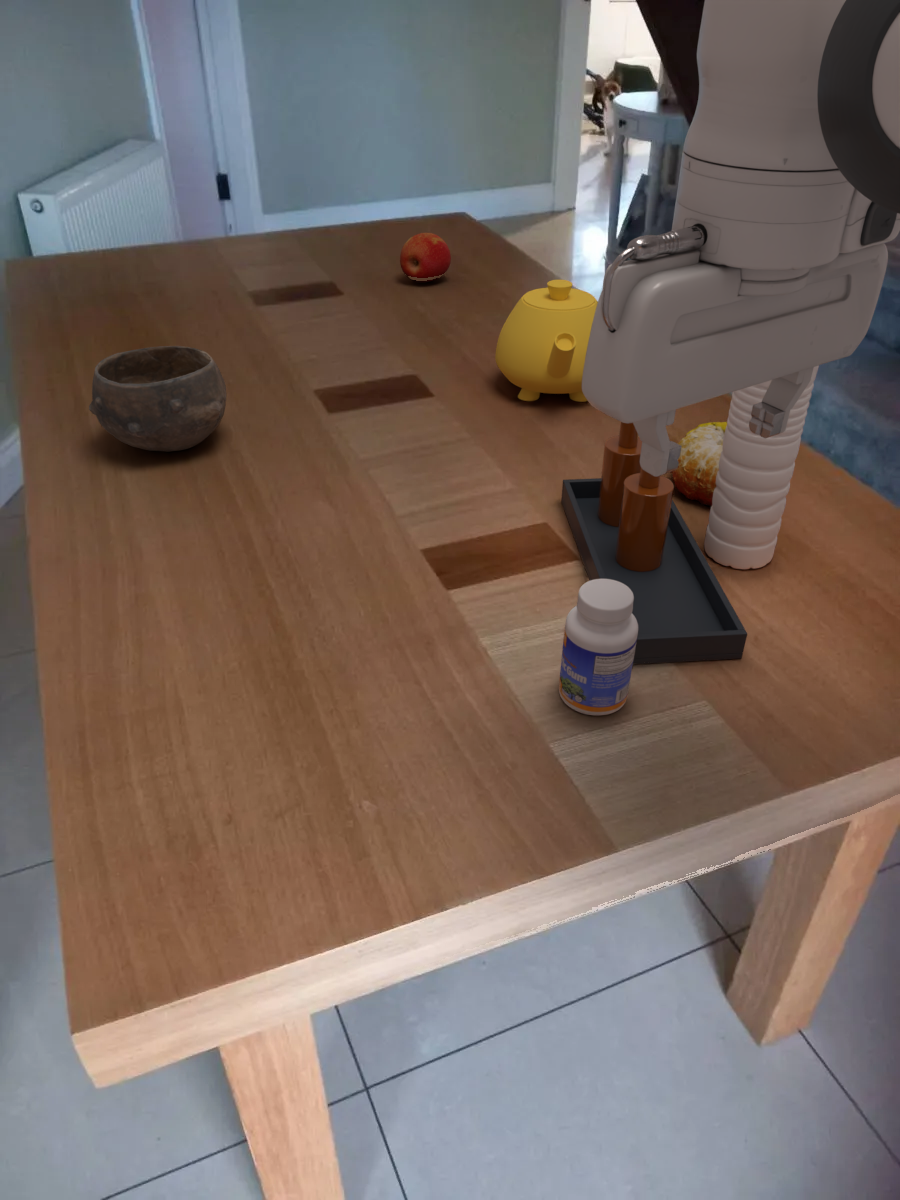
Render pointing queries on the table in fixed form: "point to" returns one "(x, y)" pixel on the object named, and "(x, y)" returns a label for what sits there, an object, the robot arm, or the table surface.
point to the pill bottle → (598, 648)
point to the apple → (425, 256)
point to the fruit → (700, 462)
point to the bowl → (159, 397)
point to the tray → (659, 586)
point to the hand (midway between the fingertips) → (713, 451)
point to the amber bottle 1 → (617, 471)
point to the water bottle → (752, 482)
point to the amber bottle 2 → (643, 521)
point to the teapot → (547, 341)
